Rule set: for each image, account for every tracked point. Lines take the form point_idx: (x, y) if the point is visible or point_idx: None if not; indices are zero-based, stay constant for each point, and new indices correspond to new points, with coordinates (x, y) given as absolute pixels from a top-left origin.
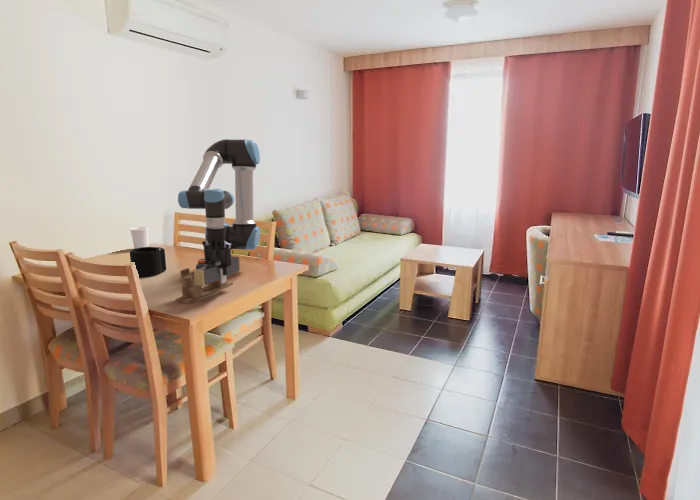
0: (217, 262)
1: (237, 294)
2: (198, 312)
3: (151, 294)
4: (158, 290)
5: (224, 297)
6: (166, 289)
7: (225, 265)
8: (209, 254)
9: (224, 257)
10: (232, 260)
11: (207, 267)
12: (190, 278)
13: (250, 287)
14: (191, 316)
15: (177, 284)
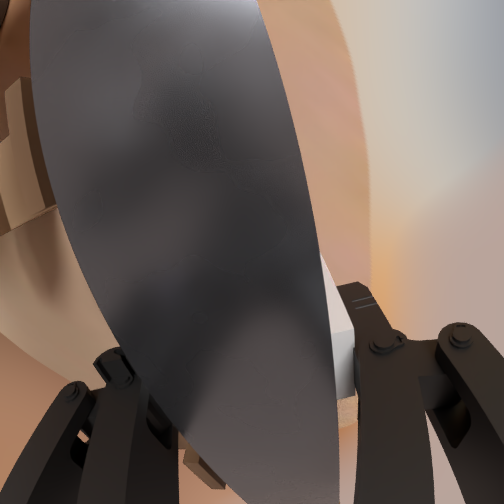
0: (180, 400)
1: (344, 161)
2: (353, 400)
3: (66, 375)
4: (38, 342)
5: (320, 247)
6: (37, 324)
7: (431, 407)
8: (54, 501)
9: (420, 499)
10: (275, 59)
11: (292, 497)
12: (186, 444)
13: (298, 19)
14: (356, 419)
15: (4, 265)
